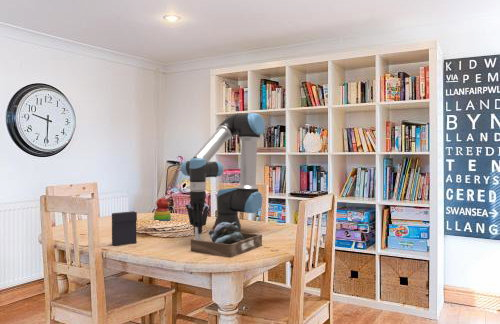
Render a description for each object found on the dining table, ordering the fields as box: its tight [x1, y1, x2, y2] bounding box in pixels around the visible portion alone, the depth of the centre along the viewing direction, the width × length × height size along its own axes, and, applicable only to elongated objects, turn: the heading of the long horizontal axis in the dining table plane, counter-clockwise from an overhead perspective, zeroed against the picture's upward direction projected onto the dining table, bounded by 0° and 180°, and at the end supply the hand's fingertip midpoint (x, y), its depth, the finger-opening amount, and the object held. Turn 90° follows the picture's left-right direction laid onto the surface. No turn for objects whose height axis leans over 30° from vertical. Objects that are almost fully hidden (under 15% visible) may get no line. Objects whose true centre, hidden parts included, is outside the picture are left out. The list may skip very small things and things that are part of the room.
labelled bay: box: [190, 232, 263, 258], centre depth 200 cm, size 26×22×5 cm
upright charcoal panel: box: [111, 211, 138, 247], centre depth 208 cm, size 11×4×15 cm, turn 129°
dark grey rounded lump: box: [208, 220, 244, 244], centre depth 201 cm, size 15×12×14 cm
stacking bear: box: [153, 197, 172, 222], centre depth 246 cm, size 11×10×18 cm
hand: (197, 240), depth 208 cm, fingers closed
